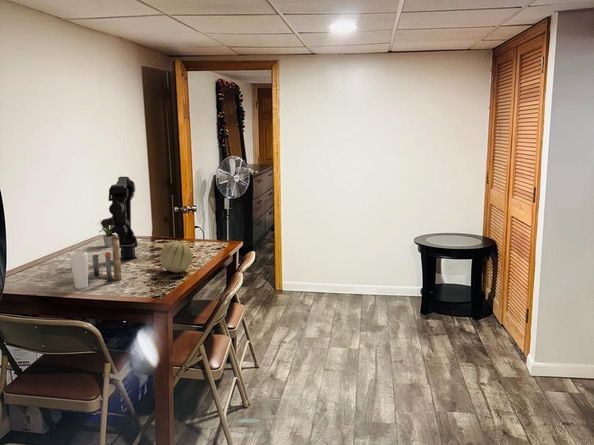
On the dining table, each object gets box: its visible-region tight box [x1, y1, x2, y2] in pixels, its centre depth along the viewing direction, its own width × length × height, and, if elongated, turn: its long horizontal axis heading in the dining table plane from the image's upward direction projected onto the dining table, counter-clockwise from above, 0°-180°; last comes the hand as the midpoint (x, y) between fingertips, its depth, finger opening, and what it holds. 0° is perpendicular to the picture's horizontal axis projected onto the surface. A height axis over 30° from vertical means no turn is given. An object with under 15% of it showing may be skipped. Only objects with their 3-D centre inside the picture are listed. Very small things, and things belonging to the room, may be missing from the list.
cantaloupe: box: [159, 239, 193, 273], centre depth 244 cm, size 15×15×15 cm
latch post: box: [104, 251, 116, 285], centre depth 228 cm, size 4×4×14 cm
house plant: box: [97, 219, 116, 248], centre depth 292 cm, size 14×14×16 cm
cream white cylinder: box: [69, 251, 89, 290], centre depth 221 cm, size 7×7×15 cm
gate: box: [99, 234, 122, 281], centre depth 233 cm, size 12×3×20 cm, turn 68°
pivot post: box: [91, 254, 101, 279], centre depth 237 cm, size 4×4×10 cm
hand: (121, 243), depth 249 cm, fingers closed
